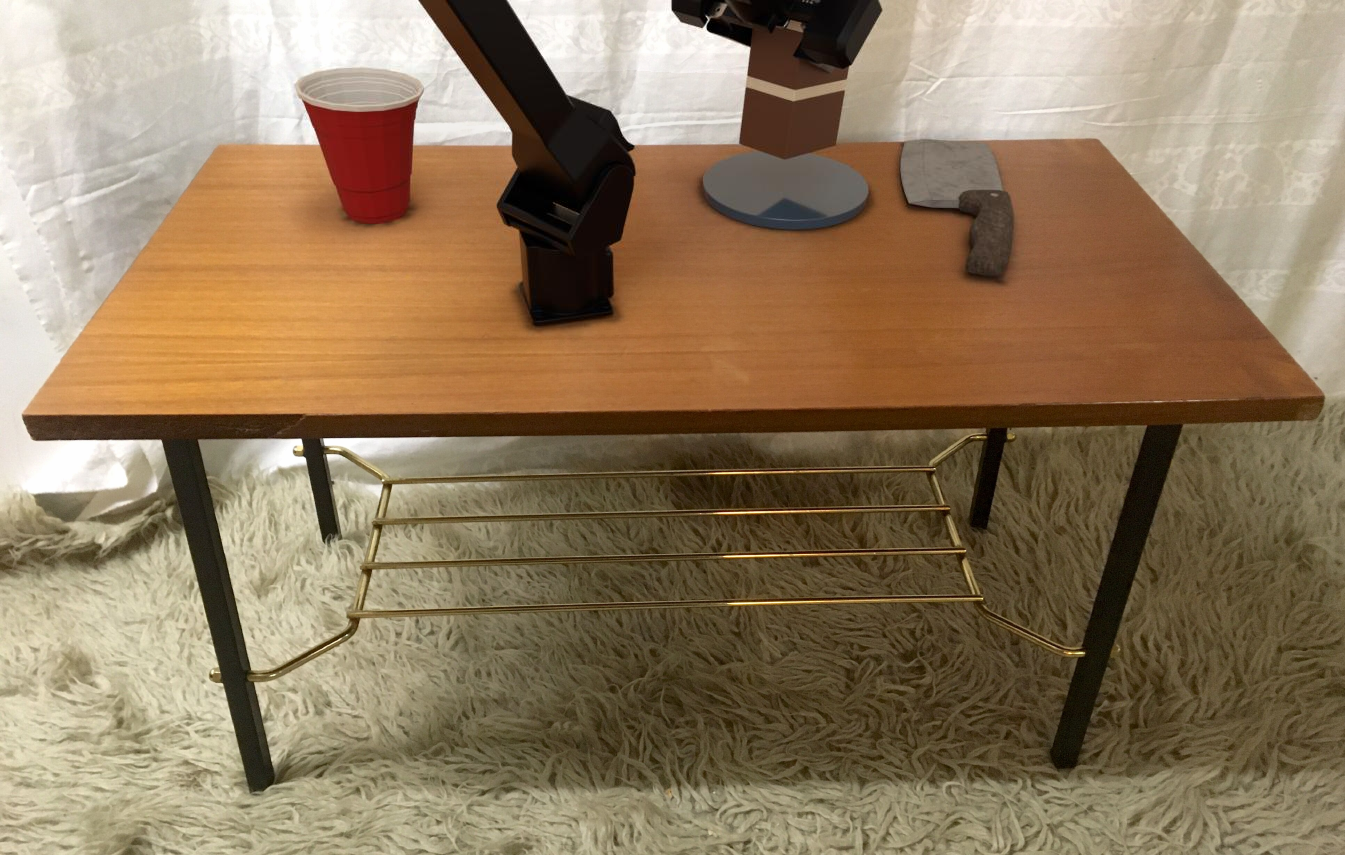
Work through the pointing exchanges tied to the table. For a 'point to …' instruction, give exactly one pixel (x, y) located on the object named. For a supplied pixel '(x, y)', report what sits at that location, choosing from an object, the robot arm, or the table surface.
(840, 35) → the robot arm
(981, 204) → the cleaver
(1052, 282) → the table surface
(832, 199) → the plate
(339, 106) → the plastic cup
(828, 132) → the cake slice
